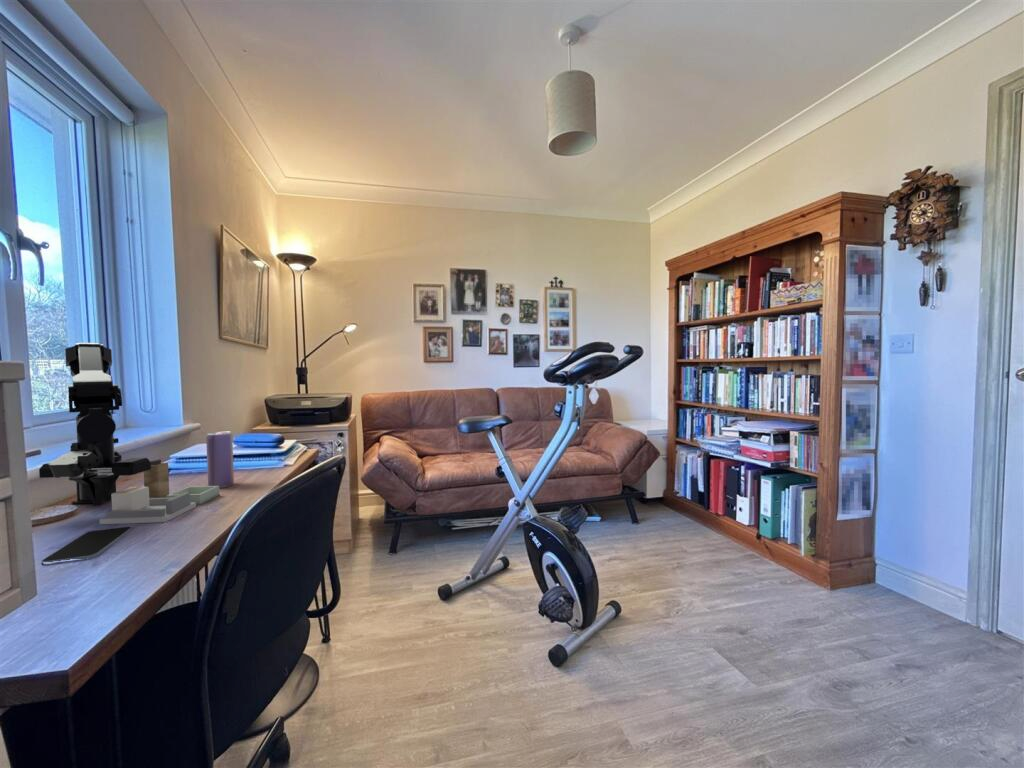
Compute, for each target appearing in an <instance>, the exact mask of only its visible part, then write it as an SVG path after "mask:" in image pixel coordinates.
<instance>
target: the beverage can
mask: <svg viewBox="0 0 1024 768" xmlns="http://www.w3.org/2000/svg"><path fill="white" fill-rule="evenodd" d="M206 435H207V436H206V439H205V440H206V441H205V442H206V464H207V465H206V468H207V472H206V473H207V486H219V489H222V488H228V487H231V486H232V485H234V483H235V481H234V480H235V479H234V478H235V475H234V474H235V473H234V472H235V471H234V449H233V447H234V446H233V443H234V442H233V435H232V431H230V430H229V431H228V430H226V431H225V430H224V431H222V430H221V431H212V432H208V433H207V434H206Z"/></svg>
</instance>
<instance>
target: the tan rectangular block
mask: <svg viewBox="0 0 1024 768" xmlns="http://www.w3.org/2000/svg"><path fill="white" fill-rule="evenodd" d="M150 462H151V469H150V470H147V471H143V484H144V485H143V487H149V498H167V495H169V494H170V481H169V480H170V479H169V478H170V476H169V475H170V474H169V461H167V462H165V461H162V459H161V458H160V459H159V458H158V459H151V460H150Z"/></svg>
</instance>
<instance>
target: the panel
mask: <svg viewBox="0 0 1024 768" xmlns="http://www.w3.org/2000/svg"><path fill="white" fill-rule="evenodd" d="M149 504H150V505H149V506H147V507H145V508H142V509H134V510H112V509H110V510H108V511H105V513H106V514H105V515H106V516H105V517H103V518H100V519H99V525H115V524H116V525H118V524H120V525H121V524H145V523H166V522H168V521H170V520H172V519H174V518H176V517H178V516H180V515H183V514H184V513H186V512H188V511H190V510H191V509H195V508H197V505H196V502H191V503H190V492H189V493H182V494H180V495H178V496H175V497H168V498H149Z"/></svg>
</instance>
